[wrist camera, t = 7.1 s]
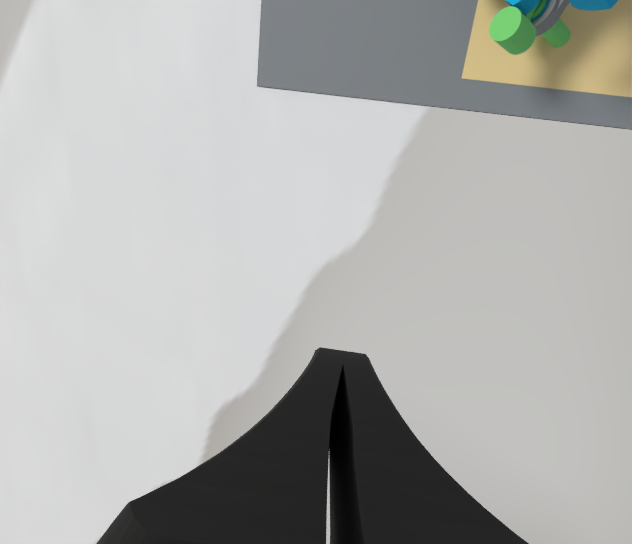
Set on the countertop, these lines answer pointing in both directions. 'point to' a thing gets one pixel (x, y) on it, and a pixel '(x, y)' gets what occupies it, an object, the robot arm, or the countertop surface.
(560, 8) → the gear
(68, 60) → the countertop surface
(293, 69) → the mat
